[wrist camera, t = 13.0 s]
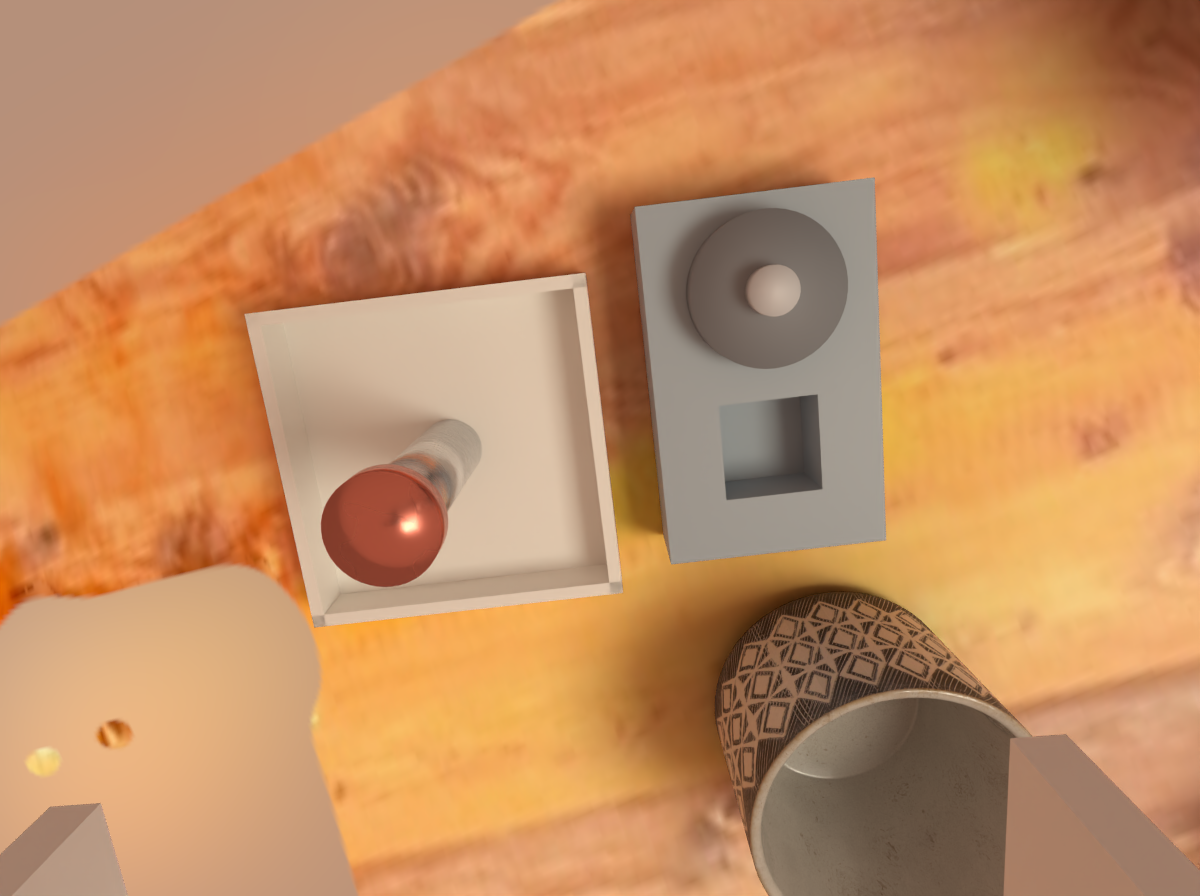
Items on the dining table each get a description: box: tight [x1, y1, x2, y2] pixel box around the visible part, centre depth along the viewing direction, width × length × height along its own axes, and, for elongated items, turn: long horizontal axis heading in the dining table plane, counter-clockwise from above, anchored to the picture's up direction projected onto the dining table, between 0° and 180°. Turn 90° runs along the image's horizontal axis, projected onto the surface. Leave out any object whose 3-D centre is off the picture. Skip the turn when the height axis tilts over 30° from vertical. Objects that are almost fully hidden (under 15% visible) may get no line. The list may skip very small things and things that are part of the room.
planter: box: [715, 592, 1032, 896], centre depth 35 cm, size 13×13×10 cm
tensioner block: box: [630, 178, 886, 564], centre depth 33 cm, size 16×10×7 cm, turn 7°
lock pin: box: [321, 419, 482, 587], centre depth 30 cm, size 4×4×12 cm
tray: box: [245, 273, 623, 627], centre depth 35 cm, size 15×15×3 cm
